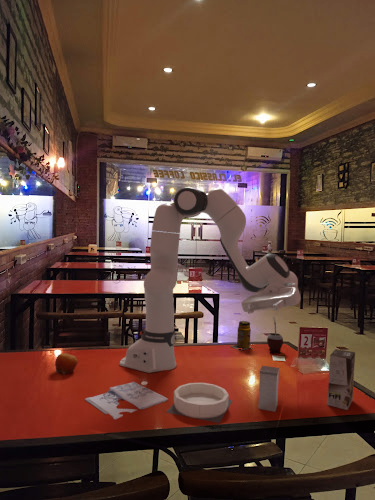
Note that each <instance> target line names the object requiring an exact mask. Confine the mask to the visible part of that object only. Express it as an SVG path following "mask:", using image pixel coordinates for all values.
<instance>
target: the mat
mask: <svg viewBox="0 0 375 500" xmlns="http://www.w3.org/2000/svg"><path fill="white" fill-rule="evenodd" d="M232 402H233V400H232V399H229V401H228V406H227V410H228V409H229V408H230V406H231V404H232ZM226 412H227V411H226ZM226 412H225V413H224V414H223V415H221V416H218V417H214V418H207V419H201V418H196V419H197V420H201V421H208V422H213V423H216V424H220V423H221V421H222V420H223V418H224V416H225V414H226ZM166 413H167V414H173V415H178V416H183V417H187V418H189V417H188V416H185V415H183V414H181V413H179V412H178V411H177V410H176V409H175V406H174V403H173V404H172V405H171V406H170V407H169V408H168V409H167V411H166ZM191 418H193V417H191ZM193 419H194V418H193Z"/></svg>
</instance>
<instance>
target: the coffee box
mask: <svg viewBox="0 0 375 500" xmlns="http://www.w3.org/2000/svg"><path fill="white" fill-rule="evenodd" d="M355 357H356V352H355V351H350V350H345V349H344V350H343V349H338V348H336V349H334V350H333V351H332V353H331V354H330V356H329V367H328V368H329V369H328V386H327V387H328V388H327V389H328V390H327V404H326V405H328V406H330V407H334V408H338V409H341V410H345V411H348V410H349V408H350V407H351V404H352V402H353V399H354V384H355V383H354V382H355V381H354V379H355V363H356V362H355V361H356V360H355V359H356V358H355Z"/></svg>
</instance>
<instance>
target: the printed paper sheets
mask: <svg viewBox="0 0 375 500" xmlns="http://www.w3.org/2000/svg"><path fill="white" fill-rule="evenodd" d="M119 400H123V401H126V402H128V403H130V404H132V405H134V406H135V407H136V408H137V409H138V410H144V409H148V408H150V407H152V406H156V405H159V404H162V403H165V402H167V401H168V400H169V398H167V397H165V396H164V395H162V394H159V393H158V392H156V391H153V390H152V389H149V388H147V387H145V386H144V385H141V384H139V383H137V382H135V381H131V382H129V383H124V384H120V385H115V386H111V387H109V390H107V391H106V392H105V393H102V394H98V395H94V396H90V397H86V398H84V401H86V402H87V403H88V404H90V405H92V406H93V407H95V408H96V409H97V410H99V411H100V412H102V414H104V415H107V414H108V415H109V416H111V417H112V418H113V419H114V420H117V419H119V418H122V417H123V415H124V414H120V413H124V412H125V413H126V412H127V413H131V414H132V413H134V412H136V411H137V409H134V408H118V407H117V406H119V405H120V404H121V402H119Z"/></svg>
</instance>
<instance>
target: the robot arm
mask: <svg viewBox="0 0 375 500" xmlns="http://www.w3.org/2000/svg"><path fill="white" fill-rule="evenodd" d="M202 213H204V214H207V215H208V216H209V217H210V218H211V220H212V222H214V224H215V225H216V227H217V228H218V230H219V233H220V238H219V243H220V244H221V247H222V249H223V250H224V253H225V254H226V256H227V258H228V260H229V262H230V263H231V265H232V267H233V268H234V270H235V272H236V274H237V275H238V278H239V281H240V283H241V285H242V288H244V290H246V291H247V292H251V293H259V292H260V291H261V290H263V291H262V293H260V294H254V295H250V296H248V297H246V298H245V299H244V300H242V301H241V302H240V303H241V308H242V310H243V312H245V313H248V314H253V313H254V312H255V311H263V310H270V309H273V311H279V310H280V309H282V308H286V307H292V306H293V307H294V306H297V305H298V304H299V303H300V302H301V298H302V297H301V293H300V291H299V287H298V284H299V279H298V277H297V275H296V274H295V273H294V272H293V271H291V270H290V268H289V267H290V266H288V264H287V262H286V261H285V259H284V258H283V257H282V256H280V255H277V254H276V253H272V252H271V253H267V254H266V255H264V256H261V258H259V259H258V260H257V261H256V262H254V263H253V264H251V265H248V264H247V262H246V260H245V258H244V257H243V254H242V253H241V251H240V250H239V246H238V245H239V240H240V238H241V236H242V235H243V233H244V230H245V228H246V224H247V218H246V214H245V212H244V211H243V210H242V209H241V207H240V206H239V205H238V203H237V202H236V201H235V200H234V199H233V198H232V197H231V196H230V195H229V194H228V193H227V192H226V191H225V190H224V189H221V188H220V187H219V188H212V189H211V190H209V191H208V192H205V191H202V190H200V189H197V188H195V187H193V186H191V187H190V186H186V187H184V186H183V187H182V188H180V189H179V190H177V192H176V193H175V195H174V198H173V202H172V203H162V204H160V205H158V206H157V208H156V210H155V211H154V216H153V221H152V227H151V234H150V245H149V246H150V247H149V254H150V255H149V256H150V271H148V273H147V274H145V277H144V280H143V289H144V290H143V291H144V302H145V303H144V304H145V328H144V329H142V330H141V331H140V332H139V336H141V338H139V339H138V340H136V341H135V342H134V343H132V344H131V345H130V346H129V347H128V348H127V349H126V353H125V357H123V358H122V359H120V361H119V366H122V367H124V368H129V369H132V370H136V371H140V372H144V373H149V374H151V373H156V372H162V371H170V370H173V369H175V368H176V367H177V362H176V357H175V348H174V346H175V339H176V338H175V335H176V334H175V329H174V325H175V322H174V321H175V306H174V289H175V288H176V286H177V281H178V267H179V265H178V264H179V249H180V245H179V244H180V237H181V236H180V235H181V226H182V223H183V220H184V219H188V218H194V217H198V216H199V215H201V214H202ZM263 288H264V289H263Z"/></svg>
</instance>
